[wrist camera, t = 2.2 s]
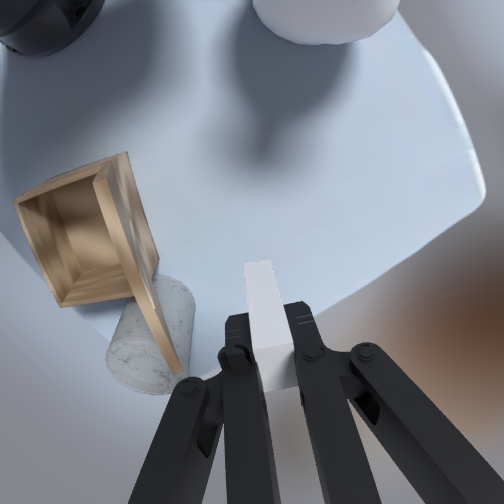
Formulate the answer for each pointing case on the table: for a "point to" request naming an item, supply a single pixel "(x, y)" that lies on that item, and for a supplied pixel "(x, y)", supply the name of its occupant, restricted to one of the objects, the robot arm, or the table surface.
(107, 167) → the lid
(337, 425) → the robot arm
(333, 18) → the vase
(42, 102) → the table surface
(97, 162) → the box
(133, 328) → the grey cylinder
